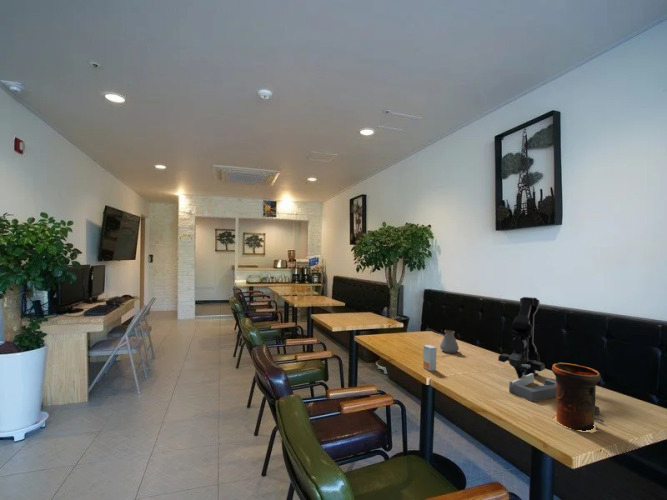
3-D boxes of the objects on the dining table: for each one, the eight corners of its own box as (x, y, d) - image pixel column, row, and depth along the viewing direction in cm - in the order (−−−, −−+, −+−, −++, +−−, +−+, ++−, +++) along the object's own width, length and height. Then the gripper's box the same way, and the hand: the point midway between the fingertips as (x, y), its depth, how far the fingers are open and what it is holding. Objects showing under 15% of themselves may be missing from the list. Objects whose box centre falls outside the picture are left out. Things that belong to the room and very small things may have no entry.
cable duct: (548, 387, 158) (548, 378, 158) (568, 394, 150) (568, 385, 150) (513, 393, 150) (513, 384, 150) (532, 401, 141) (532, 391, 141)
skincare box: (422, 367, 182) (423, 345, 183) (429, 366, 184) (429, 344, 184) (429, 371, 177) (430, 348, 177) (436, 370, 178) (436, 347, 178)
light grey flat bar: (511, 392, 150) (511, 382, 150) (508, 391, 151) (508, 381, 151) (533, 382, 164) (533, 372, 164) (531, 381, 165) (531, 372, 165)
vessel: (563, 411, 133) (565, 360, 133) (606, 428, 120) (608, 372, 120) (541, 418, 126) (543, 364, 126) (585, 438, 113) (587, 378, 113)
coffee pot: (453, 348, 223) (453, 326, 223) (462, 353, 211) (462, 329, 212) (422, 349, 220) (422, 326, 220) (429, 354, 208) (430, 329, 209)
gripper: (493, 345, 163) (492, 377, 162) (536, 354, 148) (535, 390, 148) (503, 341, 170) (503, 373, 170) (545, 350, 155) (544, 385, 155)
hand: (520, 380), depth 160 cm, fingers closed
